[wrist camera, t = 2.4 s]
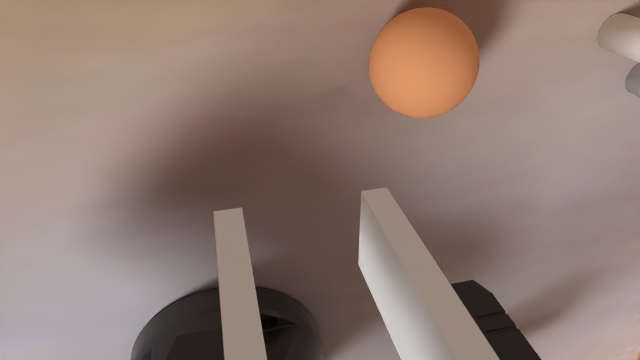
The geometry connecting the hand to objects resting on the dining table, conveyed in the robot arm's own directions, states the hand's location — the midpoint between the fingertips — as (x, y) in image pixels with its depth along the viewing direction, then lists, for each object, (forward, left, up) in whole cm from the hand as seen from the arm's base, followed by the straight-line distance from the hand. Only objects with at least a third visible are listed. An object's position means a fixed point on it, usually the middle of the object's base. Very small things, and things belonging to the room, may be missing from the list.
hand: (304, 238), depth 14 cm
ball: (-2, -9, -14) cm, 17 cm away
